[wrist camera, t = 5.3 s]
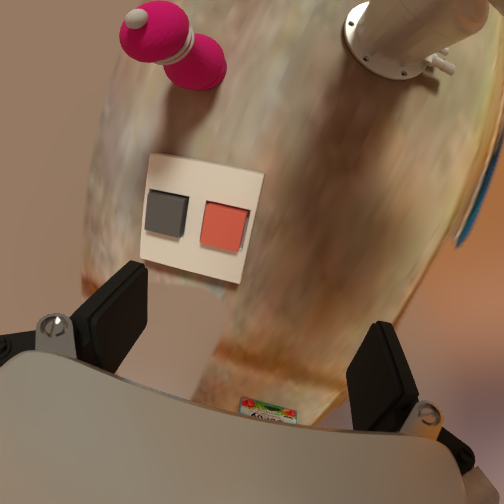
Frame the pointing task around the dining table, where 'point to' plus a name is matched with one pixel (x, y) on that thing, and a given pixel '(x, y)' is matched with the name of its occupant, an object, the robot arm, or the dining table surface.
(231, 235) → the button red
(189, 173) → the switch panel
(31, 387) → the robot arm
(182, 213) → the button black
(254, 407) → the blue printed product box
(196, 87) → the pepper mill
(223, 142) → the dining table surface
